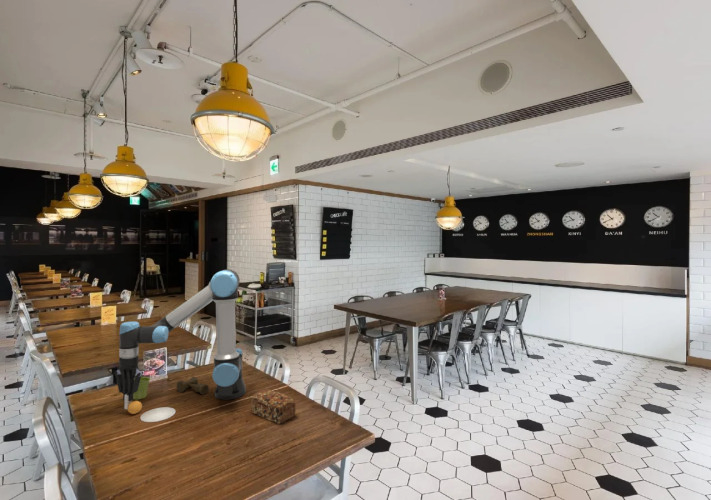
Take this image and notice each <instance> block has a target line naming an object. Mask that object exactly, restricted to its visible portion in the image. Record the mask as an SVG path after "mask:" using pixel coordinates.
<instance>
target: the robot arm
mask: <svg viewBox="0 0 711 500" xmlns="http://www.w3.org/2000/svg"><path fill="white" fill-rule="evenodd" d="M239 285H240V276H239V274H238V273H237V272H236V271H234V270H232V269H230V268H229V269H228V268H227V269H222V270H220V271H218V272H216V273H215V274H213V276H212V278H211V279H210V281H209V283H208V285H207V286H205V287H204V288H203V289H201V290H200V291H199V292H197V293H196V294H194V295H193V296H192V297H190V298H189V299H188V300H186V301H184V302H183V303H182V304H181V305H179V306H178V307H176V308H175V309H173V310H172V311H171V312H169V313H167V314H166V315H165V316H164V317H163V318H161V319H159V320H158V321H157V322H155V323H154V324H152V325H150V326H142V325H141V326H140V323H139V322H138V321H125V322H122V323H121V324H120V326H119V343H118V344H119V347H118V348H119V349H118V350H119V352H118V353H119V355H118V356H119V358H118V366H119V368H118V369H117V370H116V371H115V370H114V371H113V374H114V376H115V379H116V385H117V390H118V393H121V394H122V398H123V401H124V410H128V406H129V404H130V403H131V402H133V401H134V399H133V393H135V392H137V391H138V387H139V383H140V379H141V377H143V374H144V371H143V370H142V371H140V370H139V367H138V364H139V354H140V353H139V346H140V344H160V343H166V342H167V341H168V338H169V334H170V332H171V331H174V329H176V328H177V327H179V326H180V325H181V324H182V323H184V322H185V321H187V320H188V319H190V318H191V317H192V316H194V315H195V314H196V313H197V312H199V311H200V310H202V309H203V308H205V307H206V306H207V305H209V304H210V303H212V302H214V304H215V318H216V319H215V321H216V322H215V323H216V326H215V329H216V354H214V356H213V371H212V376H211V377H212V380H213V381H214V383H215V384H216V387H215V390H214V397H215V398H216V399H219V400H225V401H226V400H235V399H238V398H241V397H243V396H245V394H246V393H247V392H246V391H247V389H246V384H245V381H244V379H243V356H244V354H243V349H241V348H239V347H238V348H237V346H236V345H237V342H236V340H237V339H236V335H237V334H236V333H237V331H236V330H237V329H236V301H237V300H238V298H239ZM134 379H135V380H134Z"/></svg>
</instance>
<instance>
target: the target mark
mask: <svg viewBox="0 0 711 500" xmlns="http://www.w3.org/2000/svg"><path fill="white" fill-rule="evenodd" d="M175 414H176V409H175V408H173V407H165V406H162V407H156V408H153V409H150V410H147V411H145V412H143V413H142V414H141V415H140V417H139V418H140V420H141V421H142V422H145V423H156V422H160V421H165V420H167V419H169V418H171V417H173V416H174V415H175Z"/></svg>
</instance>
